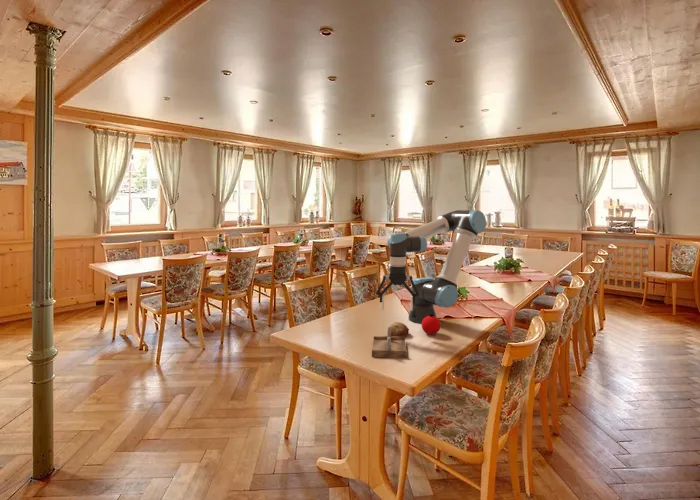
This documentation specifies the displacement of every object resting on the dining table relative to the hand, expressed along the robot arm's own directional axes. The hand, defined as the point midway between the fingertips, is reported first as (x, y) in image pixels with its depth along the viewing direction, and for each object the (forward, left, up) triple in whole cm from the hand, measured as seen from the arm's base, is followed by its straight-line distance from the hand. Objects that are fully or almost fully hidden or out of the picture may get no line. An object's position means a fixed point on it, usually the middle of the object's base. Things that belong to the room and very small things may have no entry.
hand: (397, 309), depth 183 cm
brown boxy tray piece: (+4, +20, -12) cm, 24 cm away
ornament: (-16, -2, -13) cm, 21 cm away
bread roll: (-1, 0, -13) cm, 13 cm away
